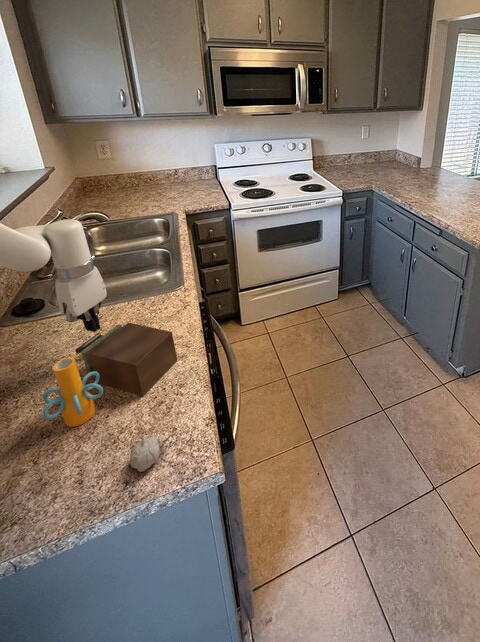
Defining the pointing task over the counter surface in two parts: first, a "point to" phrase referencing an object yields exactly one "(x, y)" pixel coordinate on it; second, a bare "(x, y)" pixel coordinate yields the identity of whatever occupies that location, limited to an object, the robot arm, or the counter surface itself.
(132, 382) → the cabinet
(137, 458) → the garlic
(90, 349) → the drawer
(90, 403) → the yellow vase with loops
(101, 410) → the counter surface
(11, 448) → the counter surface
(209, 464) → the counter surface
